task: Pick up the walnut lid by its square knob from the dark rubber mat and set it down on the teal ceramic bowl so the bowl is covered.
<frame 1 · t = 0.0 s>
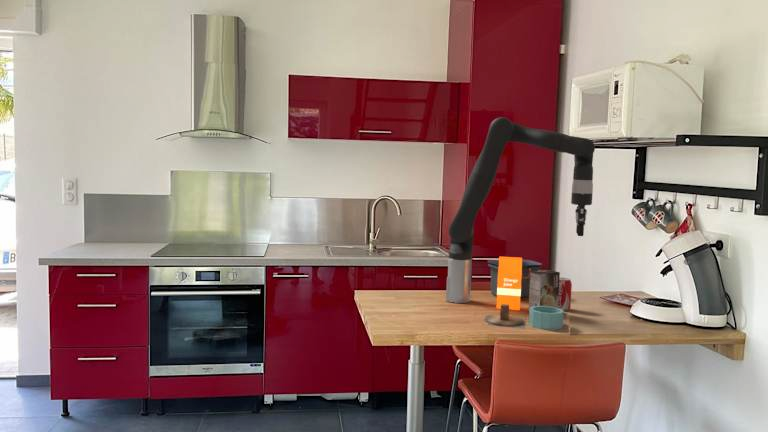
hand: (579, 234, 242), 29 cm above the table, tool pointing down, fingers open, 8 cm apart
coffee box: (543, 314, 238), on the table
lid: (504, 321, 223), point 1 cm above the table, touching mat
orange juice: (508, 309, 245), on the table
bowl: (545, 326, 219), on the table
beverage can: (561, 310, 246), on the table
mat: (504, 323, 223), on the table
storage bin: (514, 296, 268), on the table
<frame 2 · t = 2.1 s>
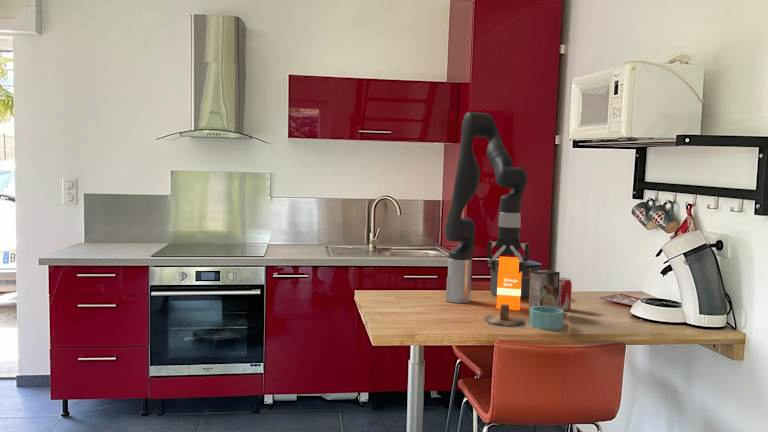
hand: (507, 271, 221), 18 cm above the table, tool pointing down, fingers open, 8 cm apart
nothing on the table moved.
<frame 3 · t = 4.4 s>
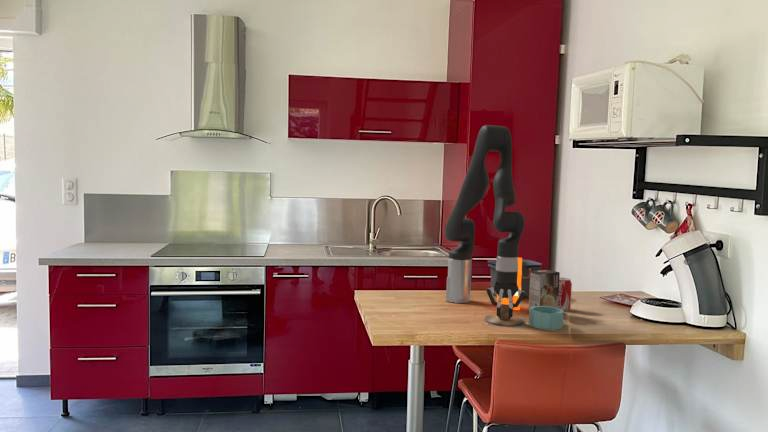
hand: (504, 317, 223), 2 cm above the table, tool pointing down, fingers closed on lid, 2 cm apart
lid: (504, 321, 223), point 1 cm above the table, touching gripper, mat
everything else where it was.
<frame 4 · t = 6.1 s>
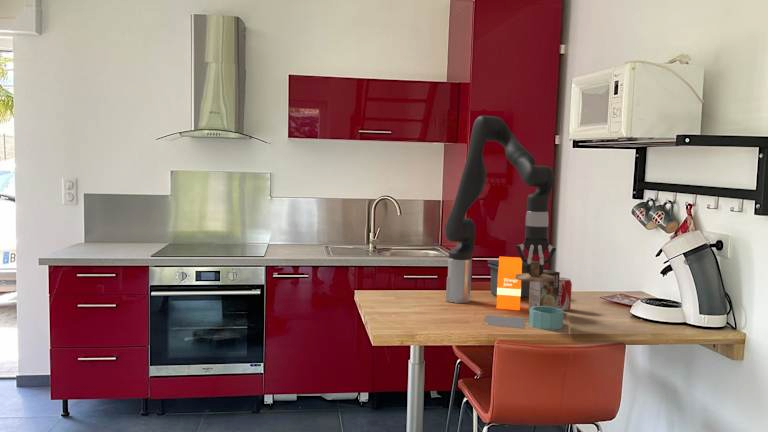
hand: (535, 274, 218), 18 cm above the table, tool pointing down, fingers closed on lid, 2 cm apart
lid: (534, 278, 218), point 17 cm above the table, touching gripper
everything else where it was.
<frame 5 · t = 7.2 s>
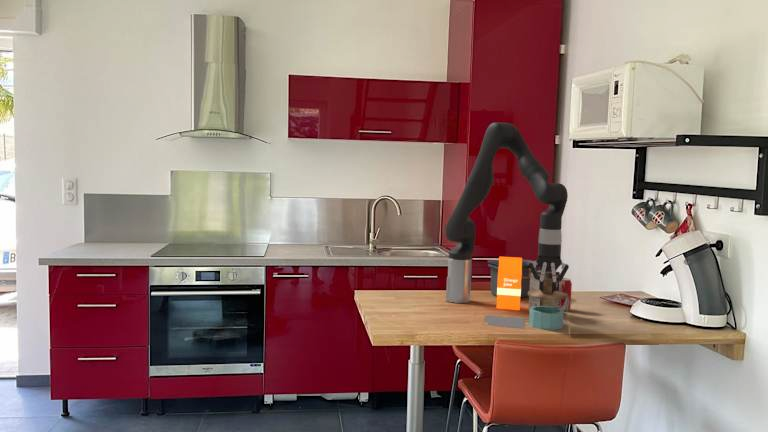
hand: (547, 292, 218), 12 cm above the table, tool pointing down, fingers closed on lid, 2 cm apart
lid: (547, 295, 218), point 11 cm above the table, touching gripper
everything else where it was.
when the fingers open (8 cm above the table, at t = 8.0 s): lid stays where it is, resting on bowl.
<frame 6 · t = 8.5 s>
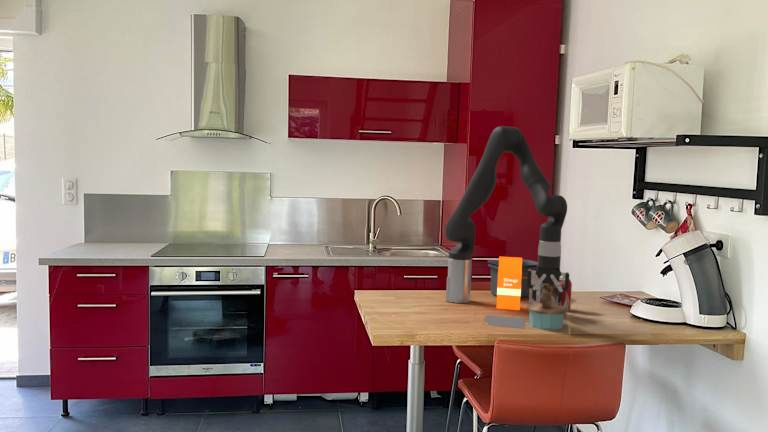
hand: (546, 301, 219), 9 cm above the table, tool pointing down, fingers open, 7 cm apart
lid: (546, 309, 219), point 6 cm above the table, touching bowl
everything else where it was.
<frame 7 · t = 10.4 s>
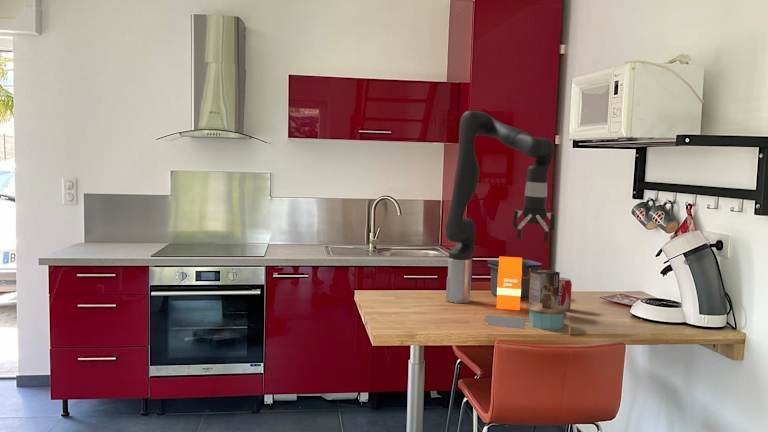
hand: (532, 240, 226), 29 cm above the table, tool pointing down, fingers open, 8 cm apart
nothing on the table moved.
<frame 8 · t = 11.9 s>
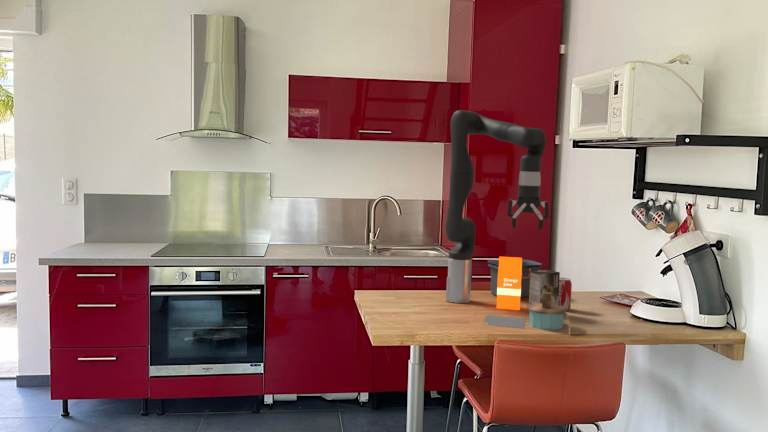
hand: (527, 229, 229), 32 cm above the table, tool pointing down, fingers open, 8 cm apart
nothing on the table moved.
at the end: lid 0.1 cm off-centre on the bowl, point 6.0 cm above the bowl's base; lid touching bowl; the gripper is holding nothing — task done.
